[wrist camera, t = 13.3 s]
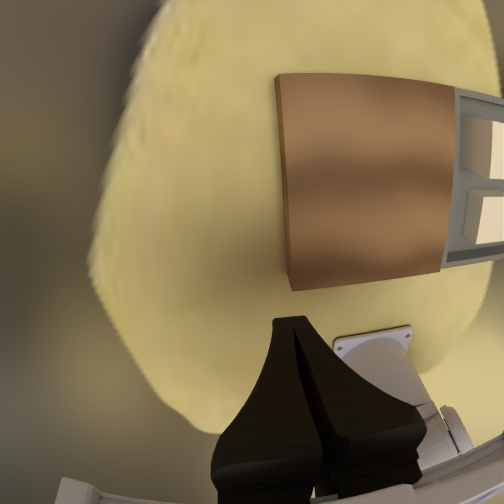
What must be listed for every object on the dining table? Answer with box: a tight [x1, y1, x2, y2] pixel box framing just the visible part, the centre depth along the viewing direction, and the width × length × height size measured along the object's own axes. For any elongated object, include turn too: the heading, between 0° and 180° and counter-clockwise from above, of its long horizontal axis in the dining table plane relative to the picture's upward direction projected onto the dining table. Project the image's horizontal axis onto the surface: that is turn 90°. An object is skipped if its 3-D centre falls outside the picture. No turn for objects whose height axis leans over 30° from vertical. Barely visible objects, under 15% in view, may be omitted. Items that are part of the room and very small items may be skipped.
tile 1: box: [459, 115, 504, 179], centre depth 17 cm, size 4×4×2 cm
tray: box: [440, 87, 504, 269], centre depth 20 cm, size 14×12×2 cm
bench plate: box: [275, 73, 455, 291], centre depth 19 cm, size 14×12×2 cm
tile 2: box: [463, 190, 504, 244], centre depth 20 cm, size 4×4×2 cm
